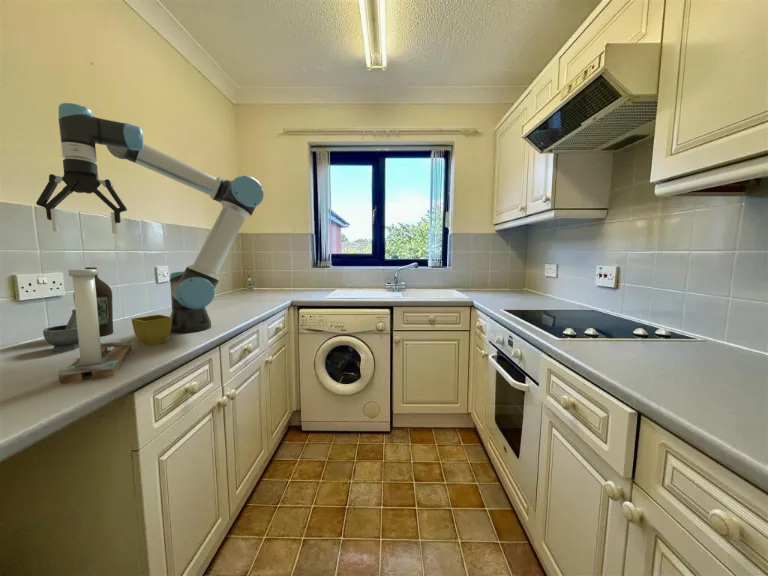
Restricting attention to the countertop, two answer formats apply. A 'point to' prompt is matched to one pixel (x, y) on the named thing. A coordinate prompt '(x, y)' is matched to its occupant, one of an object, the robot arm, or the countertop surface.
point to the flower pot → (152, 329)
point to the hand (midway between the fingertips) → (86, 232)
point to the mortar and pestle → (63, 335)
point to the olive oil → (103, 306)
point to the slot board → (98, 371)
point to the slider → (87, 317)
